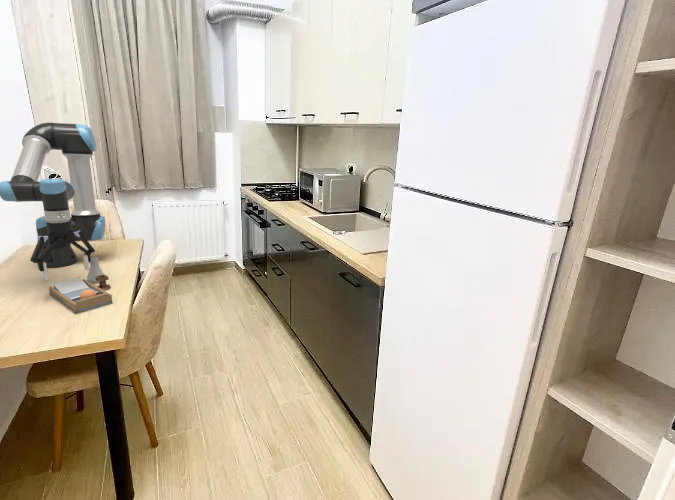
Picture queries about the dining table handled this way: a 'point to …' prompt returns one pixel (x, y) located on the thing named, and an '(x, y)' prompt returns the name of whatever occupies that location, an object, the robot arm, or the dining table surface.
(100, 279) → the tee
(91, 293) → the ball
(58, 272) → the dining table surface
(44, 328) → the dining table surface
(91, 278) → the flask
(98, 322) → the dining table surface
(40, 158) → the robot arm
